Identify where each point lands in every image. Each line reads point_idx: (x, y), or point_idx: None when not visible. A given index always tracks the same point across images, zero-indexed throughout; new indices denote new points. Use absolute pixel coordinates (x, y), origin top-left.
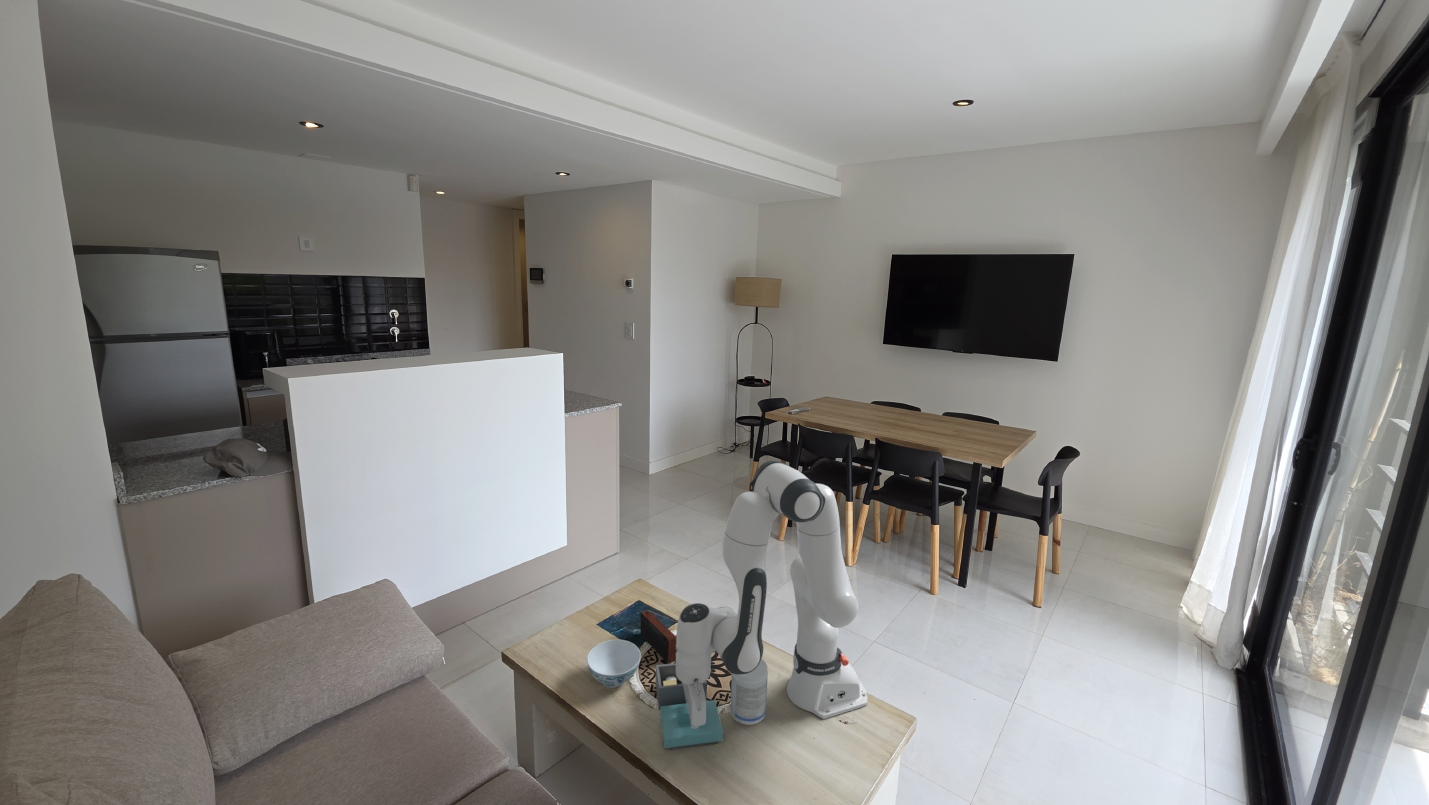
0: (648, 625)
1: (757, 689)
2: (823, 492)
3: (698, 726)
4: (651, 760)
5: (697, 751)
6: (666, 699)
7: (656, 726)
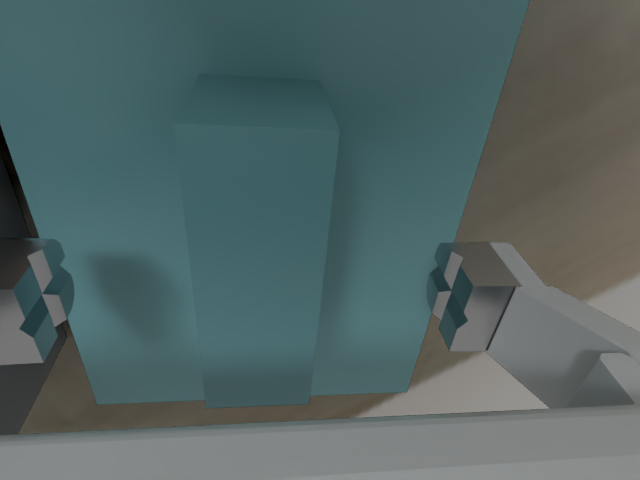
0: None
1: None
2: None
3: (512, 247)
4: (424, 379)
5: None
6: (8, 372)
7: None
